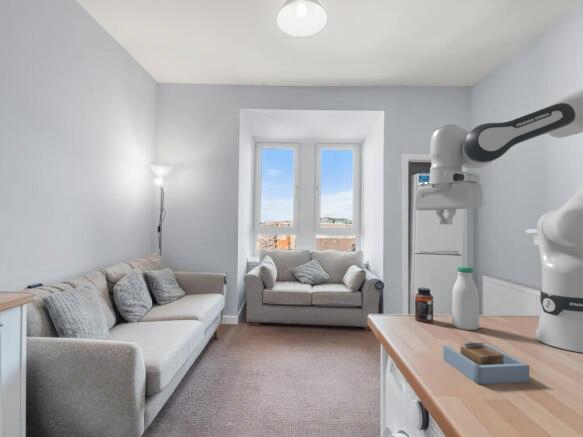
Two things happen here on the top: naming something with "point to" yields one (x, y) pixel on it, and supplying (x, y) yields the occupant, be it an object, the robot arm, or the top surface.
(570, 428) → the top surface
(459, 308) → the milk bottle
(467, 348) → the wooden toy wagon
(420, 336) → the top surface
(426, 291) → the supplement bottle
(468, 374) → the bay
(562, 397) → the top surface
